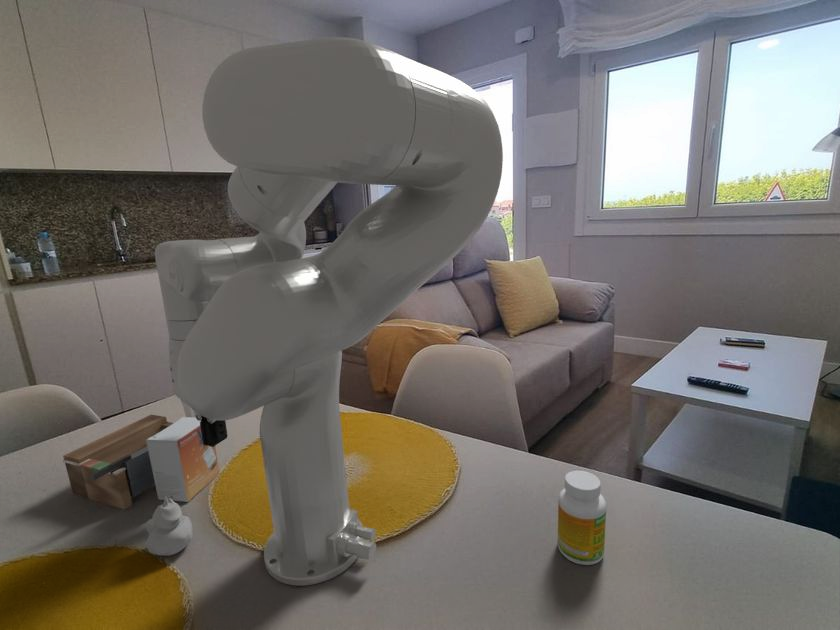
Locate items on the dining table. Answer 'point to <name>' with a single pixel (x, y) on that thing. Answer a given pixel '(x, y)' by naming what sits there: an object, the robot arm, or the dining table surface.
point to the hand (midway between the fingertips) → (215, 441)
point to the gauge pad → (132, 471)
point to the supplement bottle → (581, 518)
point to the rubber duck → (168, 529)
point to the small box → (181, 460)
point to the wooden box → (110, 461)
